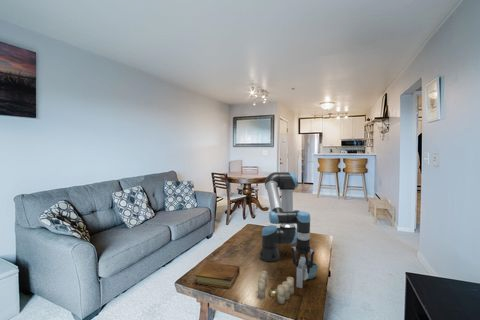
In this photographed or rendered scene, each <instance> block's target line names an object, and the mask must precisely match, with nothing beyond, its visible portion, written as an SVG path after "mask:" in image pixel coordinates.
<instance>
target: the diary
mask: <svg viewBox="0 0 480 320" xmlns="http://www.w3.org/2000/svg"><path fill="white" fill-rule="evenodd" d="M238 275H240V265H235V264H233V265H232V264H225V263H216V262H210V261H209V262H207V261H206V262H205V264H203V266H202V267H200V269H199V270H198V271H197V272H196V274H195V275H194V276H195V277H196V281H195V283H197V284H196V285H199V284H202V285H201V286H206V285H208V286H207V287H213V286H214V288H222V289H227V290H230V289H233V286H234V285H235V283H236V281H237V279H238V278H237V277H239V276H238Z"/></svg>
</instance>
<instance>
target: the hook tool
mask: <svg viewBox="0 0 480 320" xmlns="http://www.w3.org/2000/svg"><path fill="white" fill-rule="evenodd" d="M298 265H299V267H298V266H297V271H296V285H295V286H296V288H299V289H303V281H306V280H307V279H306V266H307V264H306V259H305V256H300V258H299V264H298Z"/></svg>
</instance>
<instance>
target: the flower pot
mask: <svg viewBox="0 0 480 320" xmlns="http://www.w3.org/2000/svg"><path fill="white" fill-rule="evenodd" d="M310 263H311V259H309V264H310ZM318 268H319V265H318V264H317V263H315V262H314V261H313V267H312V268H310V272H309V273H308V278H307V279H306V280H311V279H314V278H315V277H316V275H317V273H318Z"/></svg>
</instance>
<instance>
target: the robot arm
mask: <svg viewBox="0 0 480 320" xmlns="http://www.w3.org/2000/svg"><path fill="white" fill-rule="evenodd" d="M297 186H298V180H297V176H296V174H295V173H294V172H289V171H287V172H286V171H283V172H282V171H281V172H278V171H277V172H271V173H270V174H268V176H267V177H266V179H265V180H264V187H265V190H266V192H267V196H268V200H269V206H270V212H269V214H268V218H269V219H268V220H269V223H270V224H271V225H270V224H269V225H266V226H264V227H263V228H262V229H261V248H260V251H259V259H261V260H262V261H265V262H271V263H272V262H277V261H278V260H280V255H281V254H280V252H279V250H278V249H279V248H278V245H284V244H285V245H293V244H296V245H295V246H292V247H291V251H292V265H294V266H295V272H297V266H298V267H299V258H300V256H301V255H303V256H304V257H305V259H306V264H307V266H306V280H308V279H307V278H308V273H309V272H310V268H312V267H313V262H314V255H315V249H311V246H310V244H311V243H310V242H311V240H310V238H311V214H310V213H309V212H308V211H300V210H298V209H294V200H293V199H294V198H293V196H294V195H293V192H294V191H295V189H296V188H297ZM278 188H279V190H278ZM279 191H280V193H281V194H280V193H279ZM280 195H281V197H280ZM277 225H279V227H278V226H277ZM296 251H297V252H298V254H297V255H296ZM309 253H310V258H309ZM296 257H297V258H296ZM301 257H302V256H301ZM309 260H311V263H310V264H309Z"/></svg>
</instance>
